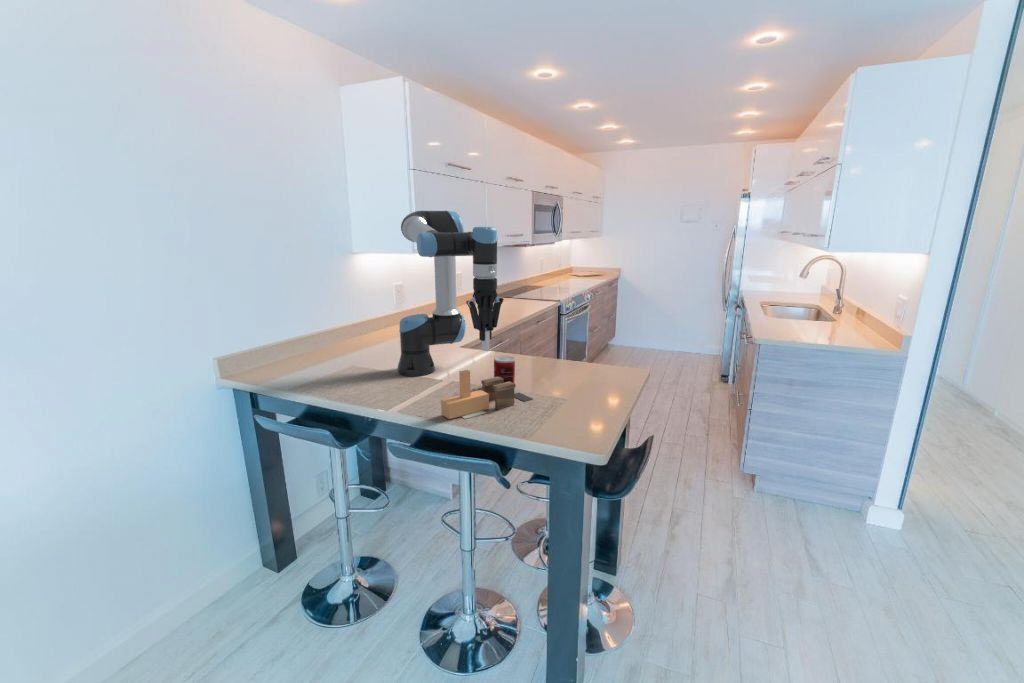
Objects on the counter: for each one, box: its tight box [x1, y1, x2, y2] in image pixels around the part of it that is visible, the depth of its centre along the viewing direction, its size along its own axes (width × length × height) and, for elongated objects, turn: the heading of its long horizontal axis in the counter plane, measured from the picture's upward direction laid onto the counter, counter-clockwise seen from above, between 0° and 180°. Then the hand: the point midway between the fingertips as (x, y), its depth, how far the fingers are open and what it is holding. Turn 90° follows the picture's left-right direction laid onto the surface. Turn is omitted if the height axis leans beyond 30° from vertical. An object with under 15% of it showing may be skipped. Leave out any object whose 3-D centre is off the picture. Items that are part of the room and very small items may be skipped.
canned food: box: [493, 355, 516, 385], centre depth 175 cm, size 8×8×11 cm
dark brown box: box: [480, 376, 516, 410], centre depth 158 cm, size 10×7×8 cm
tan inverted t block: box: [440, 369, 490, 420], centre depth 150 cm, size 5×15×14 cm, turn 127°
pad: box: [460, 410, 487, 420], centre depth 152 cm, size 9×8×1 cm
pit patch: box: [514, 392, 533, 403], centre depth 165 cm, size 8×4×1 cm, turn 37°
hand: (485, 349), depth 152 cm, fingers closed
